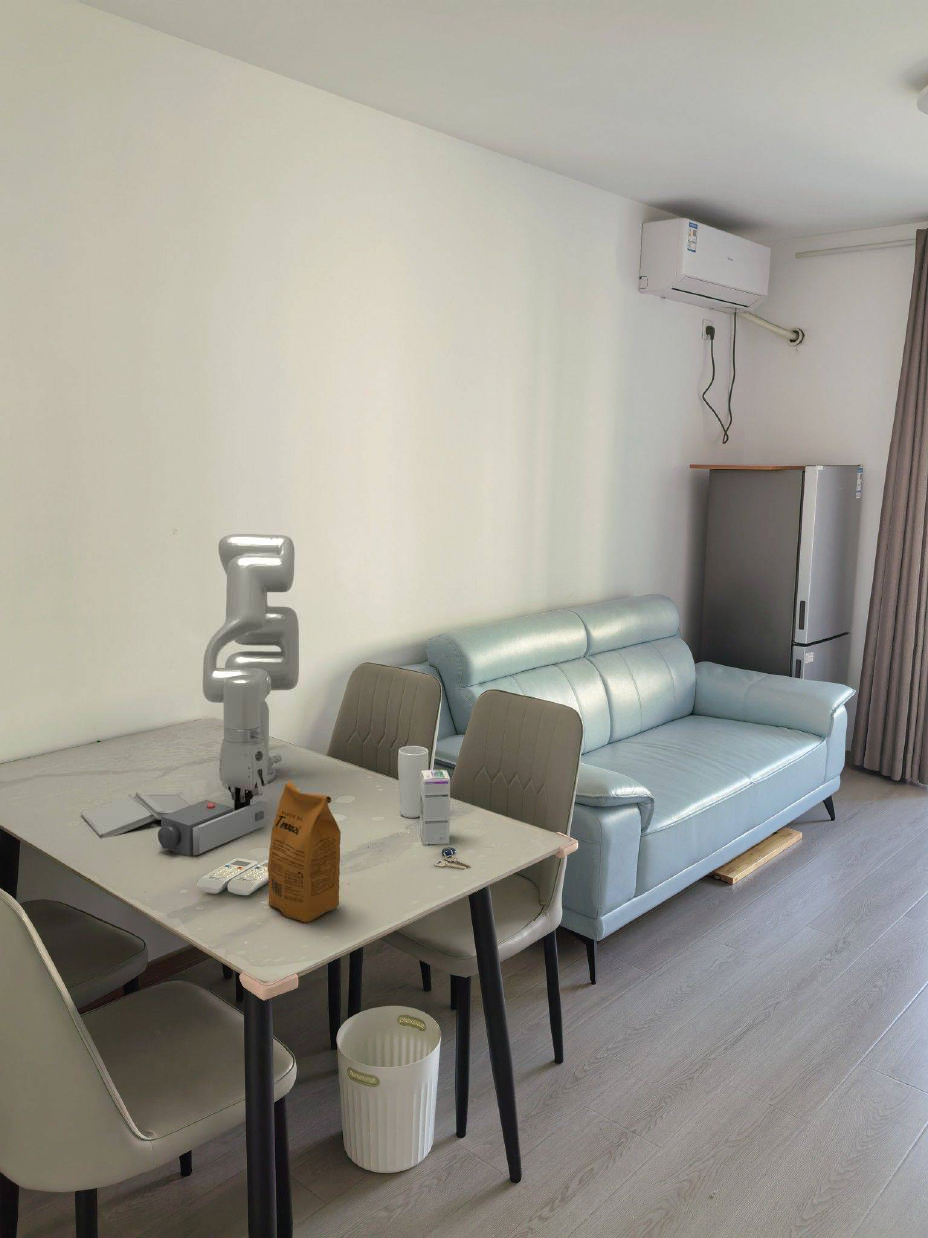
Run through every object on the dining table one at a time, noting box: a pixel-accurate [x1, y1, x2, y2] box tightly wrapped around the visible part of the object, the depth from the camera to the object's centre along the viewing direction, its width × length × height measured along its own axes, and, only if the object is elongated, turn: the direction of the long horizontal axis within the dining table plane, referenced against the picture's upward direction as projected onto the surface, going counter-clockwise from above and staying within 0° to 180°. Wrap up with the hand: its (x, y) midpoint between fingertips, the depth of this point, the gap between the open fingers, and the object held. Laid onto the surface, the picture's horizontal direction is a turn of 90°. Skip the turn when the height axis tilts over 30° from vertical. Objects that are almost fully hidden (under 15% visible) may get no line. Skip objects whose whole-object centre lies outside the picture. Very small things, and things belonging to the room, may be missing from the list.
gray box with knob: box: [157, 799, 234, 857], centre depth 194 cm, size 14×8×7 cm, turn 148°
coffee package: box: [267, 780, 342, 923], centre depth 167 cm, size 10×12×22 cm
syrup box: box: [419, 769, 451, 846], centre depth 200 cm, size 6×6×14 cm
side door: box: [192, 799, 266, 856], centre depth 196 cm, size 20×2×6 cm, turn 148°
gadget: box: [80, 792, 197, 839], centre depth 208 cm, size 23×15×4 cm, turn 127°
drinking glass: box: [397, 745, 429, 819], centre depth 214 cm, size 7×7×15 cm
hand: (242, 817), depth 203 cm, fingers closed
